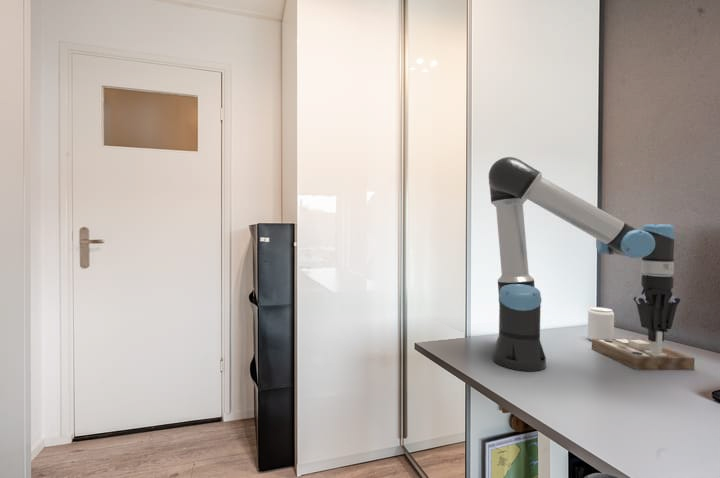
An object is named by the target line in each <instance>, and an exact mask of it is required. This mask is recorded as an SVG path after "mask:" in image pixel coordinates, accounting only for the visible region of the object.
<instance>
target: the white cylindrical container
mask: <svg viewBox="0 0 720 478" xmlns="http://www.w3.org/2000/svg"><path fill="white" fill-rule="evenodd" d="M587 311H588V313H587V338H588V340H591V341H592V339H615V338H614V337H615V331H614V330H615V312H613V311H614V310H613V309H611V308H607V307H601V306H591V307H589V310H587Z"/></svg>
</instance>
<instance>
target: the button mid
mask: <svg viewBox="0 0 720 478" xmlns="http://www.w3.org/2000/svg"><path fill="white" fill-rule="evenodd" d="M628 346H629V347H632V348H634V349H637V350H650V343H648V342H645V341H642V340H628Z"/></svg>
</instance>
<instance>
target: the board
mask: <svg viewBox="0 0 720 478" xmlns="http://www.w3.org/2000/svg"><path fill="white" fill-rule="evenodd" d="M615 339H616V338H614V339H592V340H591V350H593V351H595V352H597V353H599V354H601V355H604V356H606V357H608V358H609V359H612V360H614V361H616V362H618V363H620V364H622V365H624V366H626V367H628V368H631V369H632V370H634V371H666V370H667V371H668V370H669V371H670V370H671V371H673V370H674V371H675V370H676V371H682V370H683V371H687V370H688V371H689V370H690V371H691V370H693V371H694V370H695V357H693V356H690V355H687V354H685V353H682V352H679V351H676V350H673V349H672V348H668V347H665V346H663V345H662V353H664V354H666V355H667V357H654V356H651V355H649V354H646V353H644V352H643V350H637V349H634V348H632V347H629V346H628V344H622V343H619V342H617V341H615ZM626 339H627V340H642V341H645V342H648V343H650V341H649V340H646V339H643V338H626Z"/></svg>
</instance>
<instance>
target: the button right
mask: <svg viewBox="0 0 720 478" xmlns="http://www.w3.org/2000/svg"><path fill="white" fill-rule="evenodd" d="M643 352H644V353H646V354H649V355H651V356H654V357H667V355H666V354H664V353H655V352H652V351H650V350H643Z"/></svg>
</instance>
